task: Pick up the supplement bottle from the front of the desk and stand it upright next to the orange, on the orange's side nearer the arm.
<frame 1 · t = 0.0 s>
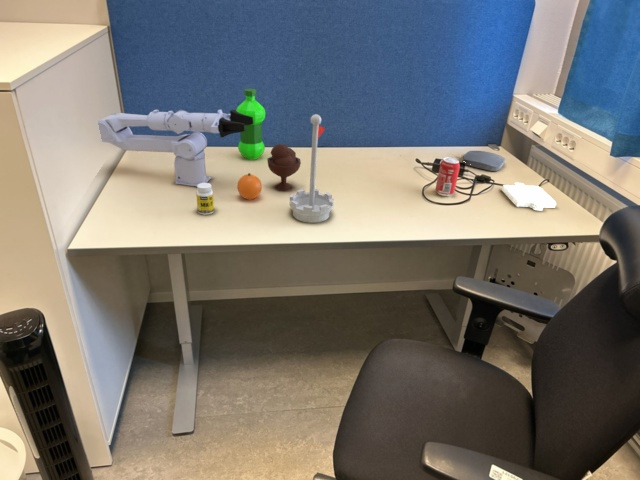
hand: (248, 123, 143), 22 cm above the table, tool horizontal, fingers open, 7 cm apart
orange: (249, 197, 148), on the table
flag stand: (311, 214, 141), on the table
mounting plate: (527, 199, 160), on the table
beverage can: (444, 193, 160), on the table
media streaming box: (482, 164, 187), on the table
ice cream bowl: (283, 187, 156), on the table
supplement bottle: (206, 212, 139), on the table
plastic bottle: (251, 157, 179), on the table
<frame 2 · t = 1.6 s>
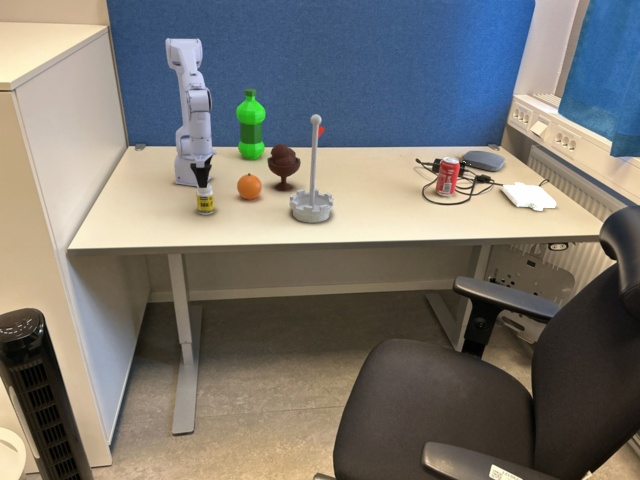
hand: (203, 182, 134), 9 cm above the table, tool pointing down, fingers open, 7 cm apart
nothing on the table moved.
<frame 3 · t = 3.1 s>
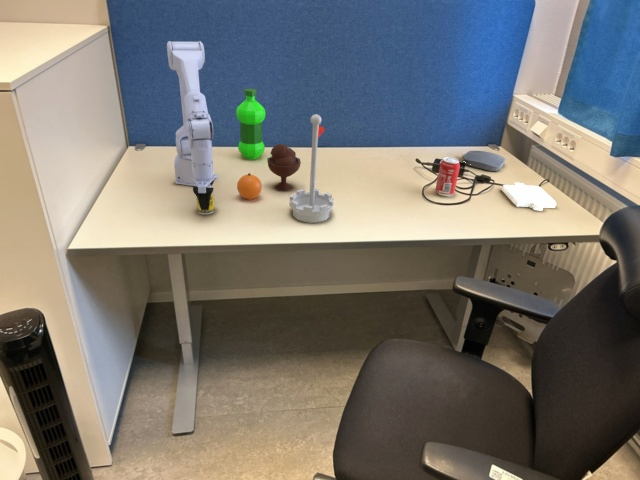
hand: (205, 205, 137), 2 cm above the table, tool pointing down, fingers closed on supplement bottle, 5 cm apart
supplement bottle: (206, 212, 139), on the table, touching gripper
everything else where it was.
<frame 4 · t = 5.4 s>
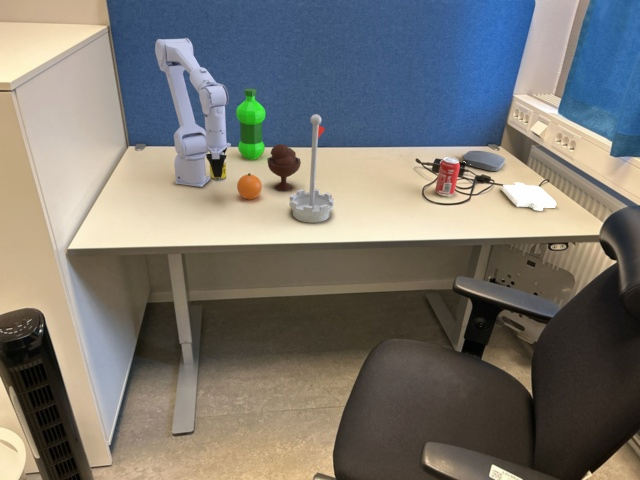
hand: (218, 173, 141), 9 cm above the table, tool pointing down, fingers closed on supplement bottle, 5 cm apart
supplement bottle: (218, 180, 142), point 7 cm above the table, touching gripper
everything else where it was.
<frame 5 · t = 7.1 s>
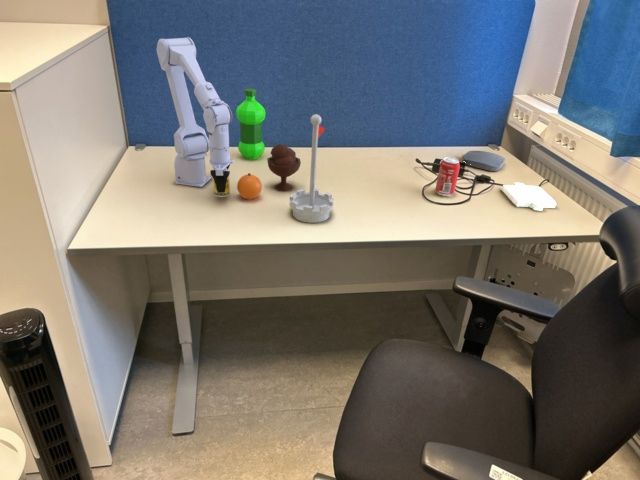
hand: (221, 188, 145), 3 cm above the table, tool pointing down, fingers closed on supplement bottle, 5 cm apart
supplement bottle: (222, 194, 146), point 1 cm above the table, touching gripper
everything else where it was.
when the fingers open (2 cm above the table, at t = 8.0 s): supplement bottle stays where it is, on the table.
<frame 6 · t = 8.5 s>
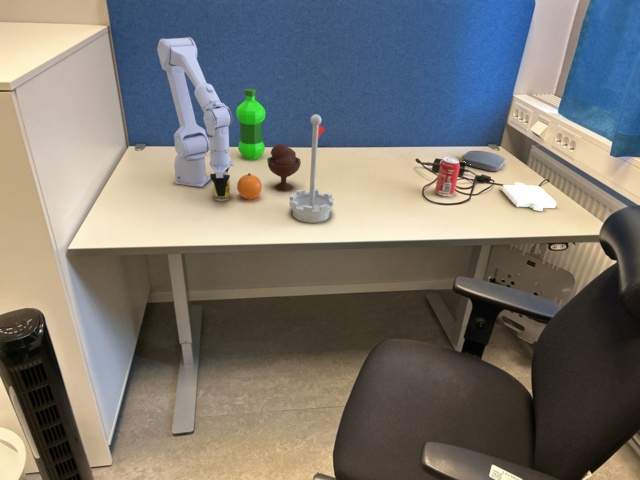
hand: (221, 190, 145), 3 cm above the table, tool pointing down, fingers open, 7 cm apart
supplement bottle: (222, 198, 147), on the table
everything else where it was.
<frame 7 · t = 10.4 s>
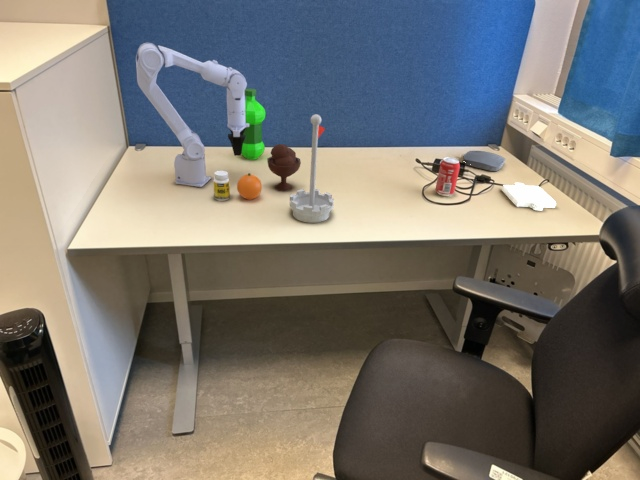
hand: (237, 151, 157), 9 cm above the table, tool pointing down, fingers open, 7 cm apart
nothing on the table moved.
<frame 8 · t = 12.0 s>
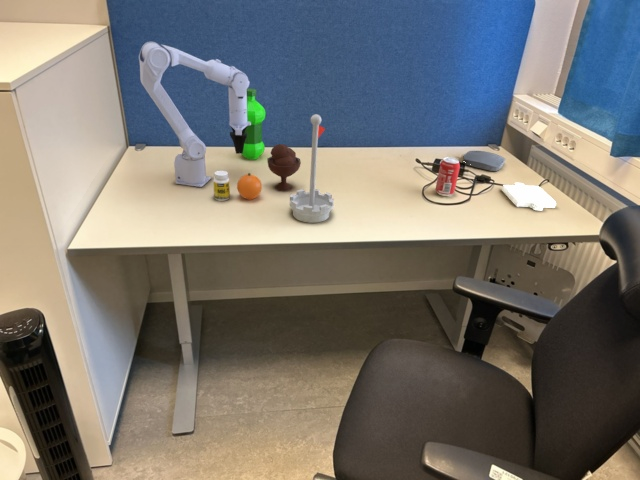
hand: (239, 149, 158), 9 cm above the table, tool pointing down, fingers open, 7 cm apart
nothing on the table moved.
at the end: supplement bottle 8.5 cm from the orange (horizontally); supplement bottle tilted 0°; orange moved 0.0 cm from its start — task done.
